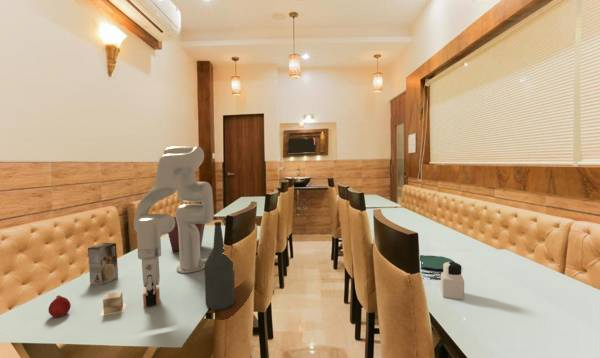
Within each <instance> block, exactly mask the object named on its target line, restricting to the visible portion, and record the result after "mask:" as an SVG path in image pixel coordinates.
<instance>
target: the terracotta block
mask: <svg viewBox="0 0 600 358" xmlns="http://www.w3.org/2000/svg"><path fill="white" fill-rule="evenodd" d="M152 289H153V287H152ZM155 293H156V305H153V306H158V305H160V300H161V298H160V295H161V294H160V286H159V285H158V286H157V285H156V287H155ZM142 299H143V300H142V301H143V302H142V303H143V308H148V307H149V306H146V287H144V288H143V292H142ZM153 306H152V307H153Z"/></svg>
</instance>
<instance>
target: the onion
mask: <svg viewBox="0 0 600 358" xmlns="http://www.w3.org/2000/svg"><path fill="white" fill-rule="evenodd" d="M55 297H56V298H54V300H52V301H51V302H50V304H49V306H48V313H49V315H50V316H52V317H53V318H61V317H64V316H66V315H67V314H68V313H69V311H70V310H71V307H72V305H71V302H70V300H69V299H68V298H66V297H65V296H61V294H60V295H59V294H58V295H56V296H55Z"/></svg>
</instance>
